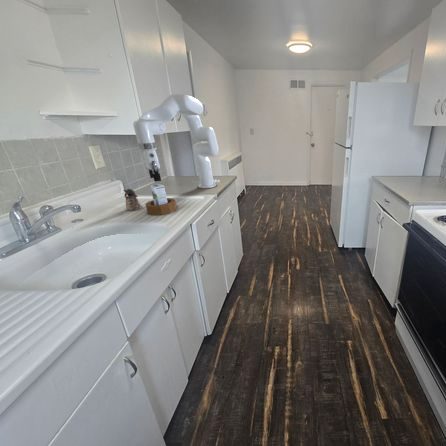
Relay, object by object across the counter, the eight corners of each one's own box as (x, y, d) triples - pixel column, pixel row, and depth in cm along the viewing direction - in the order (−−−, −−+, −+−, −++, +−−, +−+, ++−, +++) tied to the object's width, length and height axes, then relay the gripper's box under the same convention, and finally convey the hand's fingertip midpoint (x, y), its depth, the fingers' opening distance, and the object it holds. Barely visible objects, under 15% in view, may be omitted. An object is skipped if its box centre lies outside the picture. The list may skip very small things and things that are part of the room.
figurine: (143, 208, 147) (138, 188, 142) (130, 211, 142) (124, 191, 137) (137, 205, 151) (132, 186, 146) (124, 209, 145) (118, 189, 141)
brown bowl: (172, 204, 153) (171, 196, 151) (179, 210, 142) (178, 202, 140) (145, 209, 144) (143, 201, 142) (151, 217, 134) (148, 208, 132)
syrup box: (155, 210, 143) (149, 185, 137) (166, 207, 147) (160, 183, 141) (158, 212, 139) (152, 187, 134) (170, 210, 143) (164, 185, 138)
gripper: (159, 147, 125) (167, 181, 132) (152, 144, 138) (159, 175, 145) (142, 149, 121) (151, 183, 128) (136, 145, 133) (144, 177, 141)
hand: (155, 179), depth 137 cm, fingers open, 9 cm apart
